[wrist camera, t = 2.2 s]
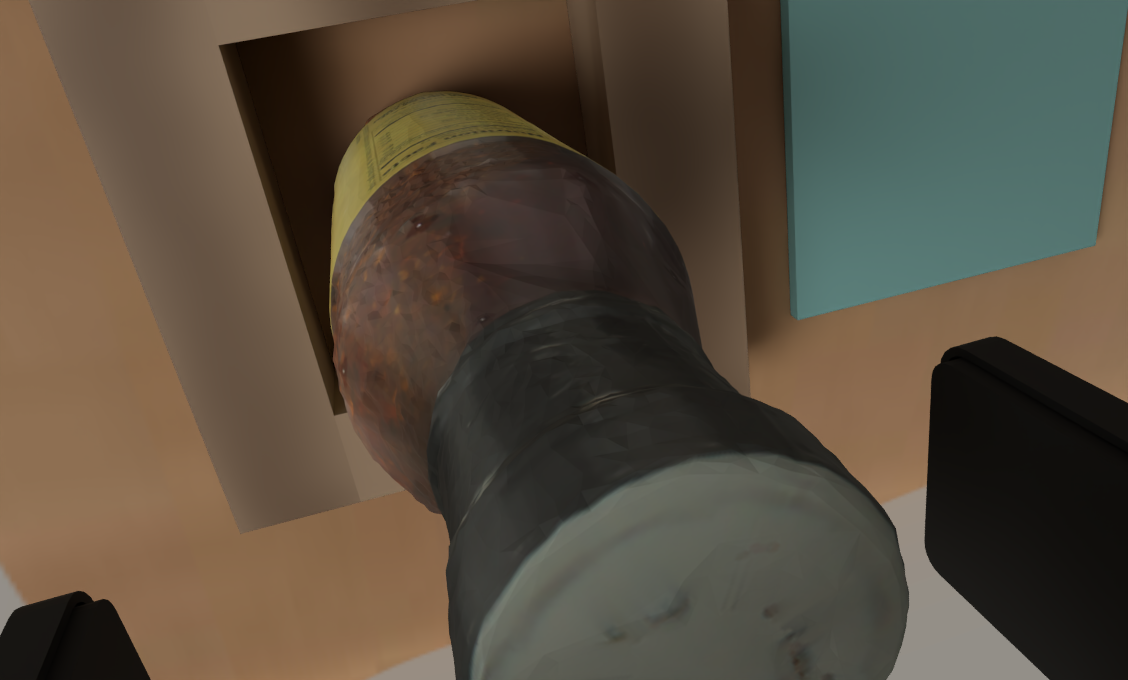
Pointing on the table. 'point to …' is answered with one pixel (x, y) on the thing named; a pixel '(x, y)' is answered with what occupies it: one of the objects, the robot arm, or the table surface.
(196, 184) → the pocket block
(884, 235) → the teal mat
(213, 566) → the table surface
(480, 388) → the sauce bottle
